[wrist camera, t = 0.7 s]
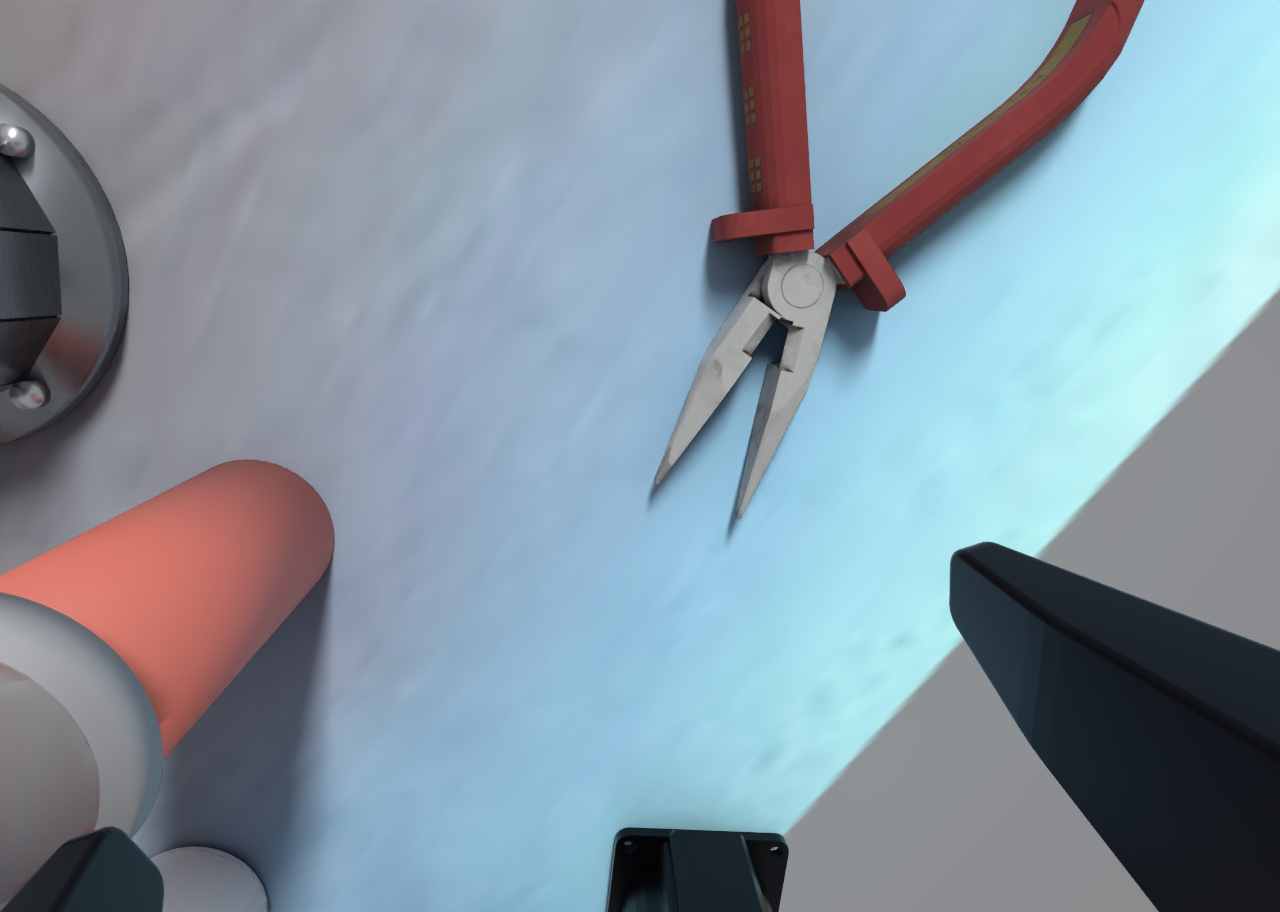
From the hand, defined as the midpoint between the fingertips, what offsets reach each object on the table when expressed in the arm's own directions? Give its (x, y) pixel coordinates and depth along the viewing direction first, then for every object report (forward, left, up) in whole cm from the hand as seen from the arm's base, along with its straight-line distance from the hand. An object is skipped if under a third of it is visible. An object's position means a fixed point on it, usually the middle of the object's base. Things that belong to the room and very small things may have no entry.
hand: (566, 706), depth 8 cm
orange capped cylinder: (-5, +10, -17) cm, 20 cm away
